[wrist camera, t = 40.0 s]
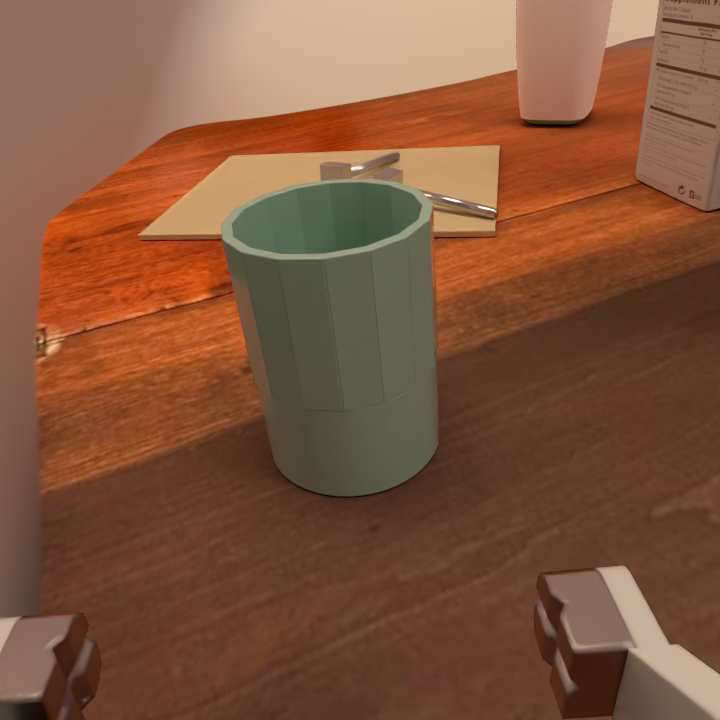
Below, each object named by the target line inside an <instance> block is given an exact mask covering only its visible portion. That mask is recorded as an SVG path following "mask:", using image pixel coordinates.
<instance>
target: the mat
mask: <svg viewBox="0 0 720 720" xmlns="http://www.w3.org/2000/svg"><path fill="white" fill-rule="evenodd" d="M393 152H398V153H399V154H400V159H399V160H397V161H394V162H392V163H389V164H386V165H384V166H381V167H378V168H376V169H373V170H370V171H368V172H365V173H362V174H360V175H357V176H354V177H352V179H373V175H375V174H377V173H379V172H381V171H383V170H385V169H387V168H388V167H390V168H395V169H399V170H403V184H404V185H406V186H409V187H412V188H416V189H420V190H424V191H428V192H432V193H436V194H441V195H445V196H449V197H453V198H457V199H461V200H465V201H469V202H473V203H477V204H481V205H486V206H490V207H494V208H496V209H497V193H498V173H499V154H500V145H492V146H467V147H442V148H416V149H391V150H366V151H340V152H315V153H290V154H264V155H239V156H230V157H229V158H228V159H227V160H225V161H224V162H223V163H222V164H221V165H220V166H218V167H217V168H216V169H215V170H214V171H213V172H211V173H210V174H209V175H208V176H207V177H205V178H204V179H203V180H202V181H201V182H200V183H198V184H197V185H196V186H195V187H194V188H193V189H191V190H190V191H189V192H188V193H187V194H185V195H184V196H183V197H182V198H181V199H180V200H178V201H177V202H176V203H175V204H174V205H173V206H171V207H170V208H169V209H168V210H167V211H166V212H164V213H163V214H162V215H161V216H160V217H158V218H157V219H156V220H155V221H154V222H153V223H151V224H150V225H149V226H148V227H147V228H146V229H144V230H143V231H142V232H141V233H140V234H139V235H138V237H139V240H197V239H222V232H221V224H222V222H223V221H224V220H225V219H226V218H227V217H228V216H229V215H230V214H231V213H232V211H233V210H234V209H236V208H237V207H239V206H241V205H243V204H245V203H247V202H249V201H251V200H253V199H255V198H256V197H258V196H261V195H263V194H267V193H270V192H273V191H277V190H280V189H283V188H287V187H290V186H294V185H299V184H305V183H312V182H318V181H321V177H320V164H323V163H326V162H329V161H332V162H340V163H348V164H351V167H354V166H356V165H359V164H362V163H365V162H368V161H370V160H373V159H376V158H379V157H382V156H385V155H387V154H390V153H393ZM433 206H434V237H494V236H495V231H496V218H495V219H490V218H486V217H482V216H478V215H474V214H471V213H467V212H463V211H459V210H455V209H451V208H447V207H443V206H439V205H435V204H433Z"/></svg>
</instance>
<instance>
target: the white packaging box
mask: <svg viewBox="0 0 720 720" xmlns="http://www.w3.org/2000/svg"><path fill="white" fill-rule="evenodd" d="M635 177H636V178H637V179H638V180H639V181H641V182H643V183H645V184H647V185H649V186H651V187H653V188H655V189H657V190H659V191H662V192H664V193H666V194H668V195H670V196H672V197H674V198H676V199H678V200H680V201H683V202H685V203H687V204H689V205H691V206H694V207H696V208H698V209H700V210H703V211H710V210H714V209H718V208H720V0H659V7H658V14H657V22H656V29H655V36H654V43H653V50H652V57H651V65H650V72H649V79H648V86H647V93H646V101H645V108H644V115H643V122H642V129H641V136H640V143H639V150H638V158H637V165H636V173H635Z"/></svg>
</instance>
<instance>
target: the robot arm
mask: <svg viewBox="0 0 720 720" xmlns="http://www.w3.org/2000/svg"><path fill="white" fill-rule="evenodd" d="M537 590H538V593H539V596H540V599H539V600H538V601H537V602H536V603H535V604H534V628H535V635H536V639H537V643H538V647H539V650H540V653H541V656H542V659H544V660H545V661H546V662H547V663H548V664H549V665H550V666H552V672H551V679H550V683H551V686H552V689H553V692H554V695H555V698H556V701H557V704H558V707H559V710H560V713H561V715H562V718H563V719H568V718H585V717H602V716H612V719H613V720H720V674H718V673H717V672H715V671H714V670H713V669H711V668H710V667H709V666H707V665H706V664H704V663H703V662H702V661H700V660H699V659H698V658H696V657H695V656H693V655H692V654H691V653H689V652H688V651H687V650H685V649H684V648H682V647H681V646H680V645H678V644H676V645H669V643H668V641H667V639H666V637H665V635H664V634H663V632H662V630H661V628H660V626H659V624H658V623H657V621H656V619H655V617H654V615H653V613H652V611H651V610H650V608H649V606H648V604H647V602H646V600H645V599H644V597H643V595H642V593H641V591H640V589H639V588H638V586H637V584H636V582H635V580H634V578H633V577H632V575H631V573H630V571H629V570H628V569H627V568H626V567H625V566H614V567H602V568H595V569H594V568H585V569H575V570H564V571H554V572H544V573H540V575H539V576H538V580H537ZM88 627H89V624H88V622H87V620H86V618H85V616H84V614H83V613H69V614H52V615H34V616H19V617H6V618H0V720H85V718H84V716H83V713H82V710H83V709H84V708H85V707H86V705H87V704H88V703H89V702H90V701H91V700H92V699H93V698H94V697H95V694H96V691H97V687H98V684H99V680H100V670H101V658H100V651H99V648H98V646H97V643H96V641H94V640H93V639H91V638H89V637H88V636H86V632H87V630H88Z"/></svg>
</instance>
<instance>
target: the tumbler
mask: <svg viewBox="0 0 720 720" xmlns="http://www.w3.org/2000/svg"><path fill="white" fill-rule="evenodd" d="M221 232H222V241H223V246H224V250H225V254H226V259H227V263H228V268H229V272H230V276H231V281H232V285H233V289H234V294H235V298H236V303H237V307H238V311H239V316H240V320H241V325H242V329H243V333H244V338H245V342H246V346H247V351H248V355H249V360H250V364H251V368H252V373H253V377H254V380H255V382H256V386H257V391H258V395H259V399H260V404H261V408H262V413H263V417H264V421H265V426H266V430H267V435H268V439H269V443H270V448H271V452H272V456H273V460H274V462H275V464H276V466H277V467H278V469H279V470H280V471H281V473H282V474H283V475H285V476H286V477H287V478H288V479H289V480H290V481H292V482H293V483H295V484H296V485H298V486H300V487H302V488H304V489H307V490H310V491H312V492H315V493H320V494H324V495H331V496H362V495H368V494H373V493H377V492H381V491H384V490H387V489H390V488H392V487H395V486H397V485H399V484H401V483H403V482H405V481H407V480H408V479H410V478H411V477H413V476H414V475H416V474H417V473H418V472H419V471H420V470H422V469H423V468H424V467H425V465H426V464H427V463H428V462H429V461H430V459H431V458H432V456H433V455H434V453H435V450H436V448H437V446H438V441H439V407H438V376H437V347H438V335H437V303H436V271H435V238H434V206H433V203H432V202H431V201H430V200H429V199H428V198H427V196H426V195H425V194H424V193H423V192H422V191H420V190H418V189H415V188H412V187H409V186H406V185H404V184H401V183H398V182H391V181H382V180H374V179H335V180H324V181H318V182H312V183H305V184H299V185H294V186H290V187H287V188H283V189H280V190H277V191H273V192H270V193H267V194H263V195H261V196H258V197H256V198H255V199H253V200H251V201H249V202H247V203H245V204H243V205H241V206H239V207H237V208H236V209H234V210H233V211H232V213H231V214H230V215H229V216H228V217H227V218H226V219H225V220H224V221H223V222H222V224H221Z"/></svg>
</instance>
